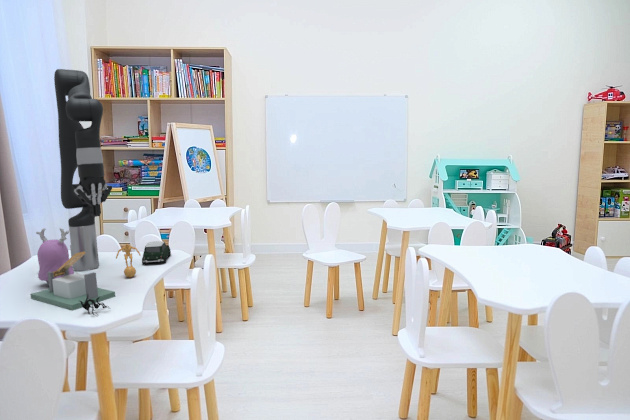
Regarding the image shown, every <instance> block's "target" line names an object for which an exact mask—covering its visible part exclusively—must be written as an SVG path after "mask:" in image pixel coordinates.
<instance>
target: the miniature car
mask: <svg viewBox="0 0 630 420" xmlns="http://www.w3.org/2000/svg"><path fill="white" fill-rule="evenodd" d="M171 256H172V252H171V248H170V245H169V244H168V245H167V244H166V242H165V241H160V240H159V241H158V240H155V241H148V243H146V245H145V247H144V251H143V253H142V257H141V258H142V259H141V264H142V265H143V266H145V265H147V263H153V262H158V263H160V262H161V263H162V264H166V263H167V258H168V257H171ZM144 264H145V265H144Z"/></svg>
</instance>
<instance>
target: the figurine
mask: <svg viewBox="0 0 630 420" xmlns="http://www.w3.org/2000/svg"><path fill="white" fill-rule="evenodd" d="M131 249H133V250H135V251H136V252H137V254H138V255H139V256H140V257H141V253H140V251H139V249H138V248H137V247H134V246H132V245H129V244H128V243H126V244H125V245H124V246H122V248H120V249H118V250H117V253H116V256H115V259H118V256H119V254H120V252H121V251H123V250H124V252H125V253H124V255H123V256H124V260H125V264H126V267H125V269H124V271H123V273H124V276H125V277H127V278H133V277H134V276H135V275H136V273H137V270H136V268H135V267H134V266H133V264H132V263H133V253H132V252H131ZM128 258H129V259H130V262H129V263H130V266H129V264H128Z"/></svg>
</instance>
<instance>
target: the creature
mask: <svg viewBox="0 0 630 420" xmlns="http://www.w3.org/2000/svg"><path fill="white" fill-rule="evenodd" d="M87 299H88V294H87V298H86V300H85V303H84V304H83V302H82V301H80V302H81V305H82V307H81V308H83V310H86V311H87V312H88V315H93V316H94V317H97V315H98V313H94V311H96V310H98V308H100V306H102V309H106V308H110V306H108V305H106V304H105V303H103V302H100V301H99V302H98V299H99V298H97V299H96V301H97V302H96V303H95V302H94V300H92V299H89V300H87ZM89 301H91V302H92V304H89V303H88V302H89ZM90 308H91V313H90Z"/></svg>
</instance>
